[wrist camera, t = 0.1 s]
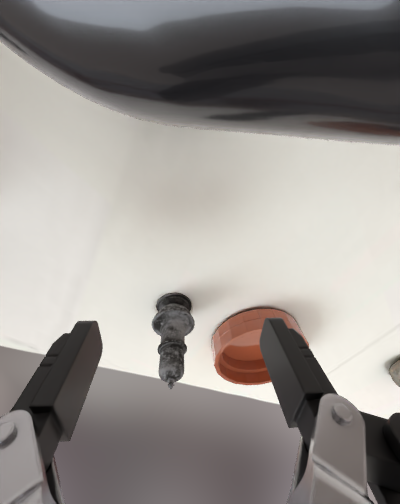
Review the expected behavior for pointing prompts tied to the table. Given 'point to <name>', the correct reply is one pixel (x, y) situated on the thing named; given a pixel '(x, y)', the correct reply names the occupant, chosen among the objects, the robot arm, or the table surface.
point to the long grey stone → (395, 372)
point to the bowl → (245, 346)
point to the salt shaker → (172, 334)
